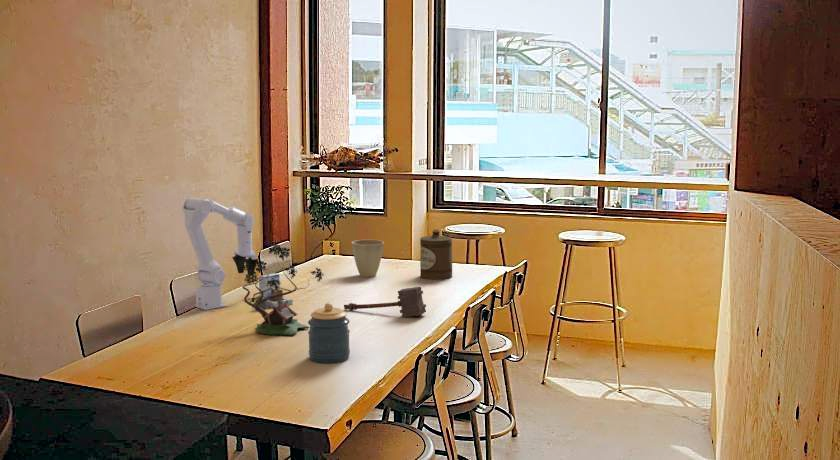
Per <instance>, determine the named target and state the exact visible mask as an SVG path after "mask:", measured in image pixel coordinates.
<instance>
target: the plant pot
mask: <svg viewBox="0 0 840 460" xmlns="http://www.w3.org/2000/svg"><path fill="white" fill-rule="evenodd" d="M384 245H385V242H384V241H383V240H379V239H359V240H358V239H357V240H353V241H351V248H352V253H353V259H354V262H355V266H356V268H357V272H358V274H359V276H360V277H361V278H374V277H376V276H377V273H378V271H379V268H380V264H381V261H382V256H383V251H384Z"/></svg>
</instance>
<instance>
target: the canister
mask: <svg viewBox="0 0 840 460" xmlns="http://www.w3.org/2000/svg"><path fill="white" fill-rule="evenodd" d="M347 315H348V313H347V312H346V311H345V310H343V309H341V308H338V307H334V306H333V304H332V303H330V302H327V303H325V304H324V306H323V307H319V308H317V309H315V310H314V311H313V312H311V313H310V317H311V318H310V319H309V320H307V324H308V325H309V330H308V357H309V360H310V361H312V362H315V363H318V364H319V363H322V364H333V363H334V364H335V363H340V362H343V361H346V360H348V359H349V358H350V354H351V351H350V350H351V349H350V332H351V331H350V329H349V323H350V319H349V318H347V317H346V316H347Z"/></svg>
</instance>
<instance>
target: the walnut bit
mask: <svg viewBox="0 0 840 460" xmlns="http://www.w3.org/2000/svg"><path fill="white" fill-rule="evenodd" d="M273 290H274V289H273ZM283 290H284V289H278V290H277V291H276V289H275V291H274V294H275V295H277V294H281V293H284V292H283ZM271 296H273V293H272V290H271ZM283 297H284V295H283V296H279V297H276V298H273V299H271V301H274V302H276V301H281V300H283Z"/></svg>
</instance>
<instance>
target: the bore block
mask: <svg viewBox="0 0 840 460" xmlns="http://www.w3.org/2000/svg"><path fill="white" fill-rule="evenodd" d="M286 300H287V301H288V303H287V305H288V306H293V304H294V303H293V302H294V301H293V299H291V298H288V297H284V296H283V300H281V301H283V303H282V305H283V304H284V303H285V302H286ZM273 306H274V307H275V306H276V307H278V303H277V301H276V302H274V301H271V299H270V300H267V308H271V309H273Z"/></svg>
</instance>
